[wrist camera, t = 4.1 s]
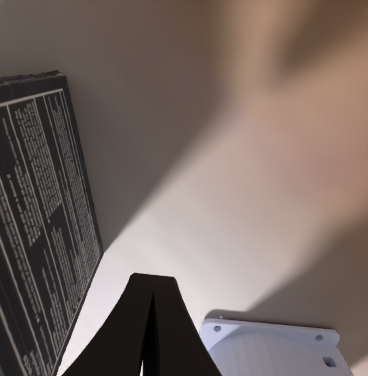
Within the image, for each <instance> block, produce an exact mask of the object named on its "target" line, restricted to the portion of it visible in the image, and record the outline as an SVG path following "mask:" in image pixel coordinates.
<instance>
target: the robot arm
mask: <svg viewBox="0 0 368 376" xmlns="http://www.w3.org/2000/svg"><path fill="white" fill-rule="evenodd" d="M215 326H219V327H215ZM339 340H340V336H339V334H338V332H337V331H336V330H331V329H320V328H310V327H299V326H289V325H278V324H267V323H257V322H246V321H235V320H225V319H214V318H207V319H205V320H204V321H203V322H202V325H201V329H200V334H198V332H197V330H196V328H195V326H194V324H193V321H192V319H191V317H190V315H189V313H188V311H187V308H186V306H185V303H184V301H183V299H182V296H181V293H180V290H179V287H178V284H177V281H176V279H175V278H174V277H169V276H159V275H150V274H141V273H133V274H132V275H130V278H129V281H128V283H127V286H126V288H125V290H124V292H123V293H122V295H121V297H120V299H119V300H118V302H117V304H116V305H115V307H114V308H113V310H112V311H111V313H110V315H109V316H108V318H107V319H106V321H105V322H104V324H103V325H102V326H101V328H100V329H99V330H98V332H97V333H96V334H95V336H94V337H93V338H92V340H91V341H90V342H89V344H88V345H87V346H86V348H85V349H84V350H83V351H82V352H81V354H80V355H79V356H78V357H77V358H76V360H75V361H74V362H73V363H72V364H71V365H70V367H69V368H68V369H67V370H66V371H65V372H64V373H63V375H62V376H140V372H141V366H142V361H143V376H354V375H353V373H352V371H351V370H350V368H349V366H348V365H347V363H346V361H345V360H344V358H343V356H342V354H341V353H340V351H339V349H338V348H337V344H338V342H339Z"/></svg>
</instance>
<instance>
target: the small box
mask: <svg viewBox="0 0 368 376" xmlns="http://www.w3.org/2000/svg"><path fill="white" fill-rule="evenodd" d="M103 254H104V253H103V249H102V244H101V239H100V234H99V229H98V224H97V220H96V215H95V210H94V204H93V201H92V196H91V191H90V186H89V182H88V177H87V173H86V168H85V164H84V157H83V153H82V149H81V145H80V140H79V135H78V130H77V126H76V121H75V116H74V112H73V108H72V103H71V99H70V94H69V90H68V86H67V80H66V76H65V75H63V74H62V73H60V72H58V71H57V70H55V71H52V72H47V73H41V74H39V75H33V74H30V75H28V76H23V75H18V76H13V77H0V376H56V375H57V372H58V368H59V366H60V365H61V362H62V357H63V355H64V353H65V351H66V347H67V345H68V343H69V340H70V338H71V335H72V332H73V330H74V327H75V324H76V322H77V319H78V316H79V314H80V311H81V309H82V306H83V304H84V301H85V298H86V296H87V293H88V290H89V288H90V286H91V283H92V280H93V277H94V276H95V273H96V270H97V268H98V266H99V264H100V261H101V259H102V257H103Z"/></svg>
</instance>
